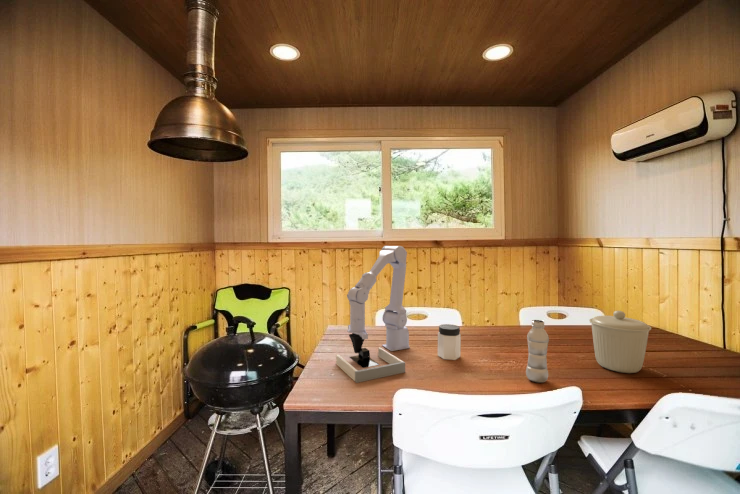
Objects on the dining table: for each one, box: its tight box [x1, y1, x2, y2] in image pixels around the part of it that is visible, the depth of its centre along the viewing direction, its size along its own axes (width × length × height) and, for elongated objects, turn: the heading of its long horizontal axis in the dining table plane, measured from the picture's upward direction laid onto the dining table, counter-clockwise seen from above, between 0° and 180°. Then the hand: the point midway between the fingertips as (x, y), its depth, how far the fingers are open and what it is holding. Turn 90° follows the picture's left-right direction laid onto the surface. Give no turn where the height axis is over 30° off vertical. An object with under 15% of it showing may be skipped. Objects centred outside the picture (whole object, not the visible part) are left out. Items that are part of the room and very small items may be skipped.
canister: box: [588, 310, 652, 374], centre depth 121 cm, size 18×18×21 cm
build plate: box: [349, 347, 380, 369], centre depth 127 cm, size 12×7×5 cm, turn 27°
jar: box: [437, 323, 462, 361], centre depth 132 cm, size 9×8×12 cm
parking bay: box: [335, 347, 406, 384], centre depth 120 cm, size 19×18×4 cm
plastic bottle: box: [525, 319, 550, 383], centre depth 109 cm, size 6×7×20 cm
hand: (357, 352), depth 129 cm, fingers closed
